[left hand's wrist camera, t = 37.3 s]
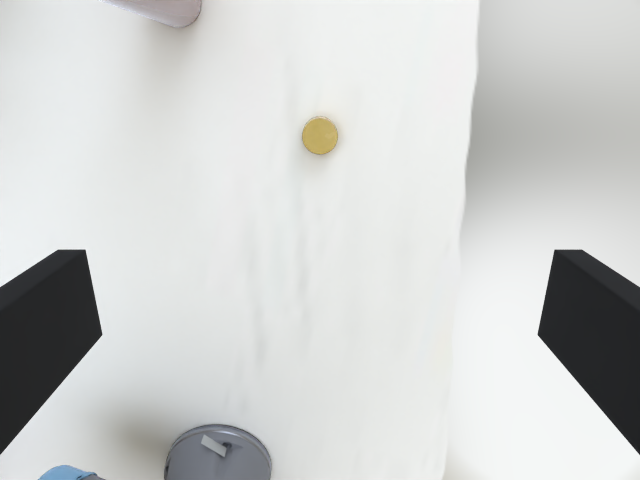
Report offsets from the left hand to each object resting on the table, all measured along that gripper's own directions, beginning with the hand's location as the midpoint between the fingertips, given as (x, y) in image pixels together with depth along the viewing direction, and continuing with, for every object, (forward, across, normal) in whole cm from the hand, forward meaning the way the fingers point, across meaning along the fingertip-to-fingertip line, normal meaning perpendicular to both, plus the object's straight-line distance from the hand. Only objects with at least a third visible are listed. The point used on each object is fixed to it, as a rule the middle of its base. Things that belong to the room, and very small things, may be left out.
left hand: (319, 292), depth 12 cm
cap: (+36, 0, 0) cm, 36 cm away
